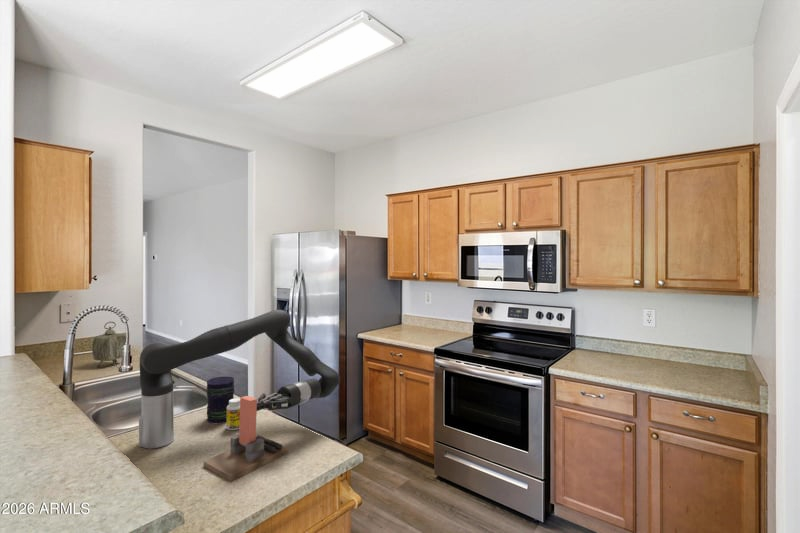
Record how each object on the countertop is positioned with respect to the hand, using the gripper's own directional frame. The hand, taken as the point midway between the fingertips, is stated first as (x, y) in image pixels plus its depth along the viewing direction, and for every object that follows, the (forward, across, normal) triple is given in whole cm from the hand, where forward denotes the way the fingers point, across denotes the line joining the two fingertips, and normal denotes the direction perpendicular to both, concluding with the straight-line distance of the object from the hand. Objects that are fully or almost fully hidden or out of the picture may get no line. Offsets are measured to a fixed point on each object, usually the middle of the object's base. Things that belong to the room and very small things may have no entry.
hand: (251, 408), depth 125 cm
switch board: (+1, 0, +16) cm, 16 cm away
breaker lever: (+1, 0, +10) cm, 11 cm away
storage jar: (-12, -36, +15) cm, 41 cm away
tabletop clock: (-20, -156, +14) cm, 158 cm away
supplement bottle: (-10, -24, +15) cm, 30 cm away
